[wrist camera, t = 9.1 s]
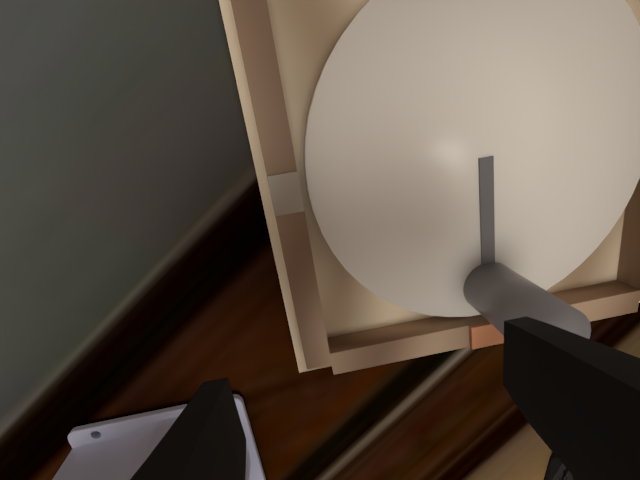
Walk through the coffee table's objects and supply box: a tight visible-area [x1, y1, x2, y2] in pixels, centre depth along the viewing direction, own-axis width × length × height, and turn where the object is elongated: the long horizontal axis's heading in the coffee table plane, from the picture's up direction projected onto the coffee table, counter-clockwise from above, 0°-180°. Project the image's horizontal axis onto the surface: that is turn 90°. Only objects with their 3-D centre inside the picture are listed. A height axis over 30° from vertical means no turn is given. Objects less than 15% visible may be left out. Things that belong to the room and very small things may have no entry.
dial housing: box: [219, 0, 640, 375], centre depth 16 cm, size 19×19×3 cm
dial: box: [304, 0, 640, 339], centre depth 13 cm, size 15×15×5 cm
